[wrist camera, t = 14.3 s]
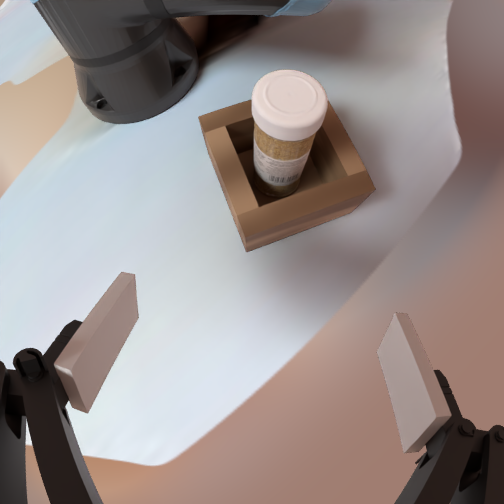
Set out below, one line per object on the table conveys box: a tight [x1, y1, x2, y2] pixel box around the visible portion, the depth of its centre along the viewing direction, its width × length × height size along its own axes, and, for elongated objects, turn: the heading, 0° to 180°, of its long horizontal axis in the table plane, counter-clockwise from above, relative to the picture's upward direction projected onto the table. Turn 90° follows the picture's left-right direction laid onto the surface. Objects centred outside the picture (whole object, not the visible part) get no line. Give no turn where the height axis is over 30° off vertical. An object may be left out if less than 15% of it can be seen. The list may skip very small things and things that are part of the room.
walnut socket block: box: [198, 100, 376, 252], centre depth 28 cm, size 11×11×7 cm
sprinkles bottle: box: [252, 69, 328, 198], centre depth 24 cm, size 5×5×14 cm
